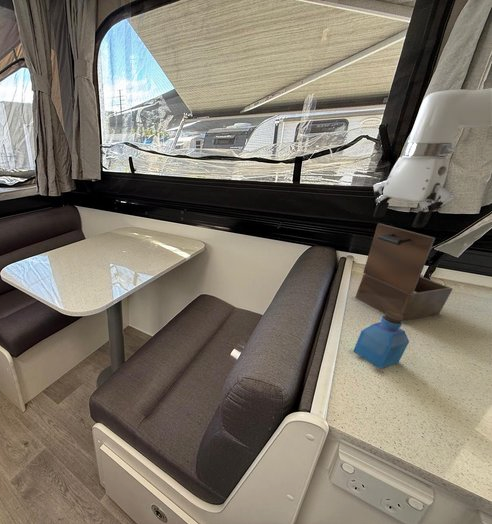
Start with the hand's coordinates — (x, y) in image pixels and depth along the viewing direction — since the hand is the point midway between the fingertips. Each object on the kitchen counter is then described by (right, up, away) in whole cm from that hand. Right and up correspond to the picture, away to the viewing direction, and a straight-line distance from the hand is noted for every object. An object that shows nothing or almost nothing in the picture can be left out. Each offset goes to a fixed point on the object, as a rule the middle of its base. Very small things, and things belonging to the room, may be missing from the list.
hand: (396, 221), depth 71 cm
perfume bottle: (-11, -34, -6) cm, 36 cm away
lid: (+5, -9, +5) cm, 12 cm away
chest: (+13, -24, +14) cm, 31 cm away
